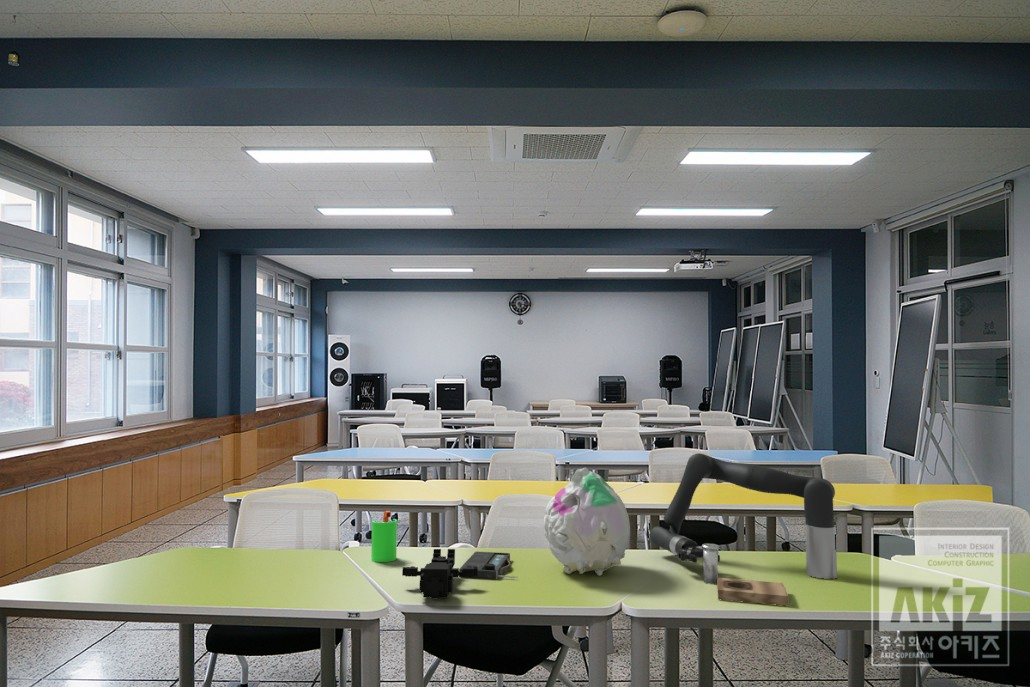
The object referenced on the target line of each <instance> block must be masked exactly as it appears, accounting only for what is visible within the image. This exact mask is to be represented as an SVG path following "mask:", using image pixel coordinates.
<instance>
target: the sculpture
mask: <svg viewBox="0 0 1030 687" xmlns="http://www.w3.org/2000/svg"><path fill="white" fill-rule="evenodd" d="M543 529H544V530H543V532H544V536H545V538H546V539H547V545H548V547H549V549H550V551H551V553H552V555H553V556H554V558H556V560H557V561H558V562H559V563H560V564H561V565H563V566H564V568H563V571H564V573H566V574H568V575H571V574H573V572H575V571H578V575H581V574H584V573H587V572H591V571H594V572H595V574H596V575H597V576H599V577H601V576H602V575H603V572H605V571H608V569H611V568H612V567H616V566H619V565H621V563H622V561H621V559H624V558H625V557H626V556H625V554H626V553H625V552H626V550H627V547H628V546H629V541H630V537H631V536H630V535H631V524H630V519H629V514H628V512H627V508H626V504H625V503H624V502H623V500H622V499H621V497H620V496H619V495H618V493H617V492H616V491H615V490H614V488H613V487H611V486H610V485H609V483H608V482H607V481H606V480H605V479H604V478H603V477H602V476H601V475H600V474H598V473H595V472H593V471H590V470H589V469H588V468H587V467H583V468H578V469H576V471H575V472H574V474H573V476H572V477H571V479H570V482H569V483H568V484H567V485H565V486H563V487H562V488H561V489H559V491H558V492H556V494H555V495H554V496H553V497H552V498H551V499H550V500H549V501H548V503H547V505H546V507H545V512H544V517H543Z"/></svg>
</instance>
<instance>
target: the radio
mask: <svg viewBox="0 0 1030 687" xmlns="http://www.w3.org/2000/svg"><path fill="white" fill-rule="evenodd" d="M510 561H511V553H510V552H497V551H496V552H493V551H492V552H491V551H475V552H473V553H472V554H471V556H470V557H469V558H468V559H466V561H465V562H464V563H463V565H461V567H459V571H462V569H463V568H467V567H471V568H478V576H474V577H462V576H459V577H458V578H464V579H479V580H481V579H482V580H483V579H484V580H498V579H499V578H511V579H517V578H519V577H518V576H515V575H503V574H504V573H508V572H509V571H511V562H510Z"/></svg>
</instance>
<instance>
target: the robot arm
mask: <svg viewBox="0 0 1030 687" xmlns="http://www.w3.org/2000/svg"><path fill="white" fill-rule="evenodd" d="M703 479H707V480H708V479H709V480H716V481H723V482H727V483H730V484H732V485H735V486H737V487H741V488H744V489H747V490H750V491H751V490H752V491H755V492H758V493H766V494H775V495H791V496H795V497H800V498H803V506H804V507H803V509H804V510H803V511H804V512H803V513H804V518H805V557H806V558H805V561H806V562H805V564H806V565H805V566H806V567H805V568H806V575H807V576H809V577H811V576H812V578H815V577H816V579H821V578H824V579H825V580H831V579H830V578H833V579H835V578H838V569H837V568H838V567H837V566H838V565H837V563H838V562H837V561H838V560H837V550H836V539H835V538H836V536H835V535H836V534H835V530H836V529H835V525H836V524H835V515H834V498H835V495H836V490H835V487H834V485H833V484H832V483H831V481H829V480H828V479H826V478H822V477H813V476H812V477H811V476H805V475H797V474H793V473H792V474H791V473H788V472H785V471H782V470H779V469H778V470H777V469H775V468H771V467H768V466H767V467H765V466H762V465H757V464H751V463H742V462H730V461H725V460H721V459H719V458H716V457H712V456H710V455H707V454H704V453H700V452H699V453H694V454H692V455H691V456H690V457H689V458H688V460H687V462H686V466H685V469H684V472H683V475H682V477H681V481H680V482H679V486H678V488H677V490H676V492H675V494H674V496H673V498H672V499H671V502H670V504H669V506H668V507H667V510H666V511H665V513H664V515H663V521H664V522H665V523H666V524H668V525H669V529H667V528H665V527H662V526H654V527H653V528H652V529H651V530H650V531H649V535H648V536H649V540H650V542H651V544H653V545H655V546H658V547H659V548H662V549H665V550H666V551H668V552H669V553H672V554H673V555H674V558H677V559H678V560H680V561H683V562H684V561H685V562H692V563H693V564H696V563H697V562H698V560H700V559H702V560H703V548H702V546H699V544H698V543H697V542H696V541H694V540H693V539H690V538H688V537H686V536H684V535H680V531H681V526H682V523H683V521H684V520H685V519H686V516H687V514H688V511H689V510H690V507H691V503H692V500H693V496H694V494H695V492H696V489H697V488H698V487H699V485H700V483H701V482H702V481H703ZM720 560H721V556H720V554H718V562H720Z"/></svg>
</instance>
